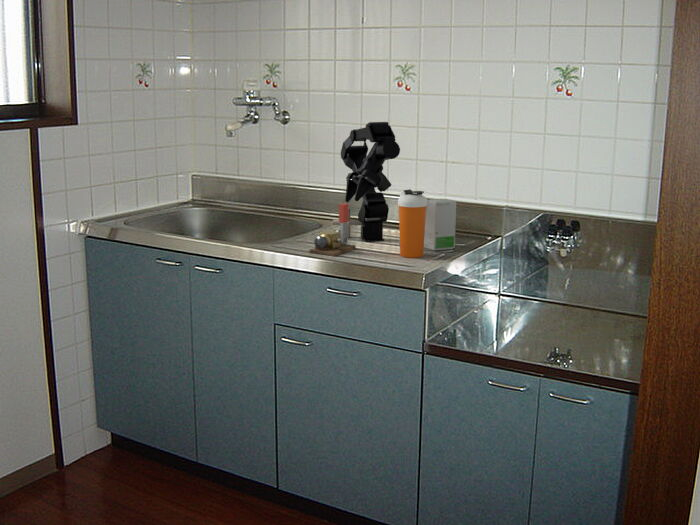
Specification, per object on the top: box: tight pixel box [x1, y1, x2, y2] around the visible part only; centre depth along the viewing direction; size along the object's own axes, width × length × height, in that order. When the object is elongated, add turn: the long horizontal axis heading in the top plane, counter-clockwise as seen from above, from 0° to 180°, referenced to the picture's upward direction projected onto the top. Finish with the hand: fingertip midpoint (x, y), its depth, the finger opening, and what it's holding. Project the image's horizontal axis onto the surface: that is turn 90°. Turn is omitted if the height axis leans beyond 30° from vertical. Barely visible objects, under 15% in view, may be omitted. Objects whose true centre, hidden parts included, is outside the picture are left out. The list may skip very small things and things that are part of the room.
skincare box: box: [424, 198, 457, 251], centre depth 267 cm, size 8×7×16 cm
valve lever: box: [338, 202, 349, 246], centre depth 261 cm, size 3×2×13 cm, turn 150°
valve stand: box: [308, 229, 356, 257], centre depth 264 cm, size 13×9×6 cm
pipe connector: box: [332, 207, 362, 239], centre depth 284 cm, size 10×10×10 cm
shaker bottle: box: [397, 188, 427, 259], centre depth 256 cm, size 9×9×20 cm
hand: (351, 201), depth 267 cm, fingers open, 9 cm apart
